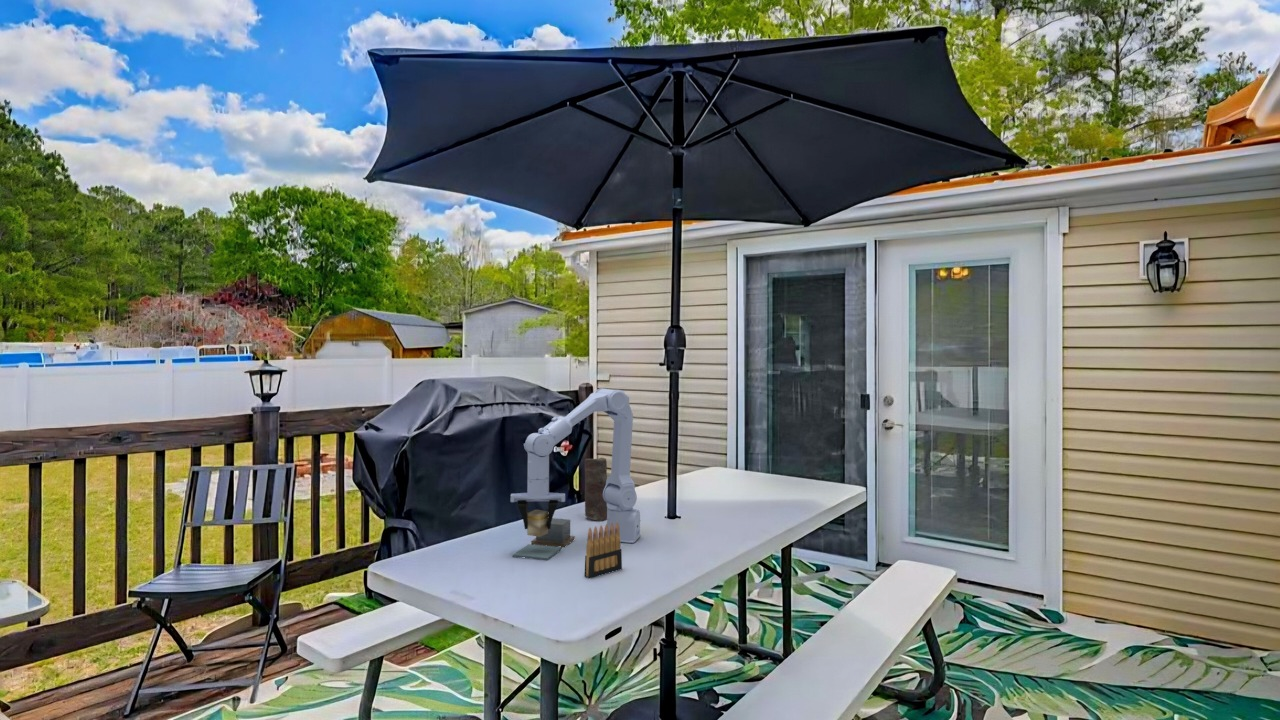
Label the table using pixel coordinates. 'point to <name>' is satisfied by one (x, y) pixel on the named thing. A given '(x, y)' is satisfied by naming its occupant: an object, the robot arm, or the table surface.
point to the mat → (537, 552)
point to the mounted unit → (556, 534)
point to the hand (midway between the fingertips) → (537, 528)
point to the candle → (595, 488)
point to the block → (537, 523)
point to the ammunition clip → (603, 551)
